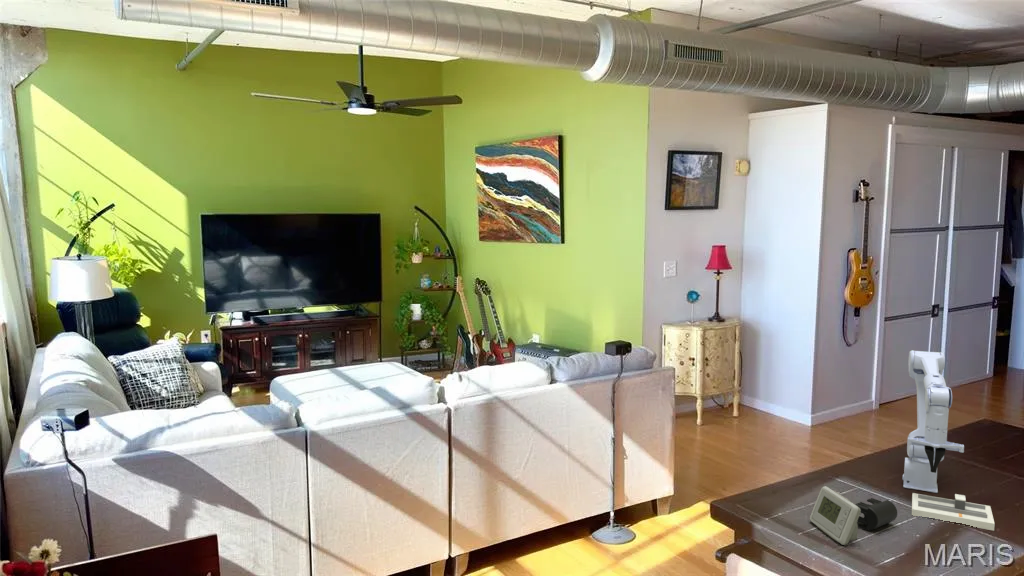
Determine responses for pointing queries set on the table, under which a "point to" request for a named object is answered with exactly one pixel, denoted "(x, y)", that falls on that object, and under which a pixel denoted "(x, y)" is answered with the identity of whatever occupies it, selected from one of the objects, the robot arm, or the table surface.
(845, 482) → the table surface
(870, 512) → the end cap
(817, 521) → the digital clock
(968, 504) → the console
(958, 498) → the fader tab
